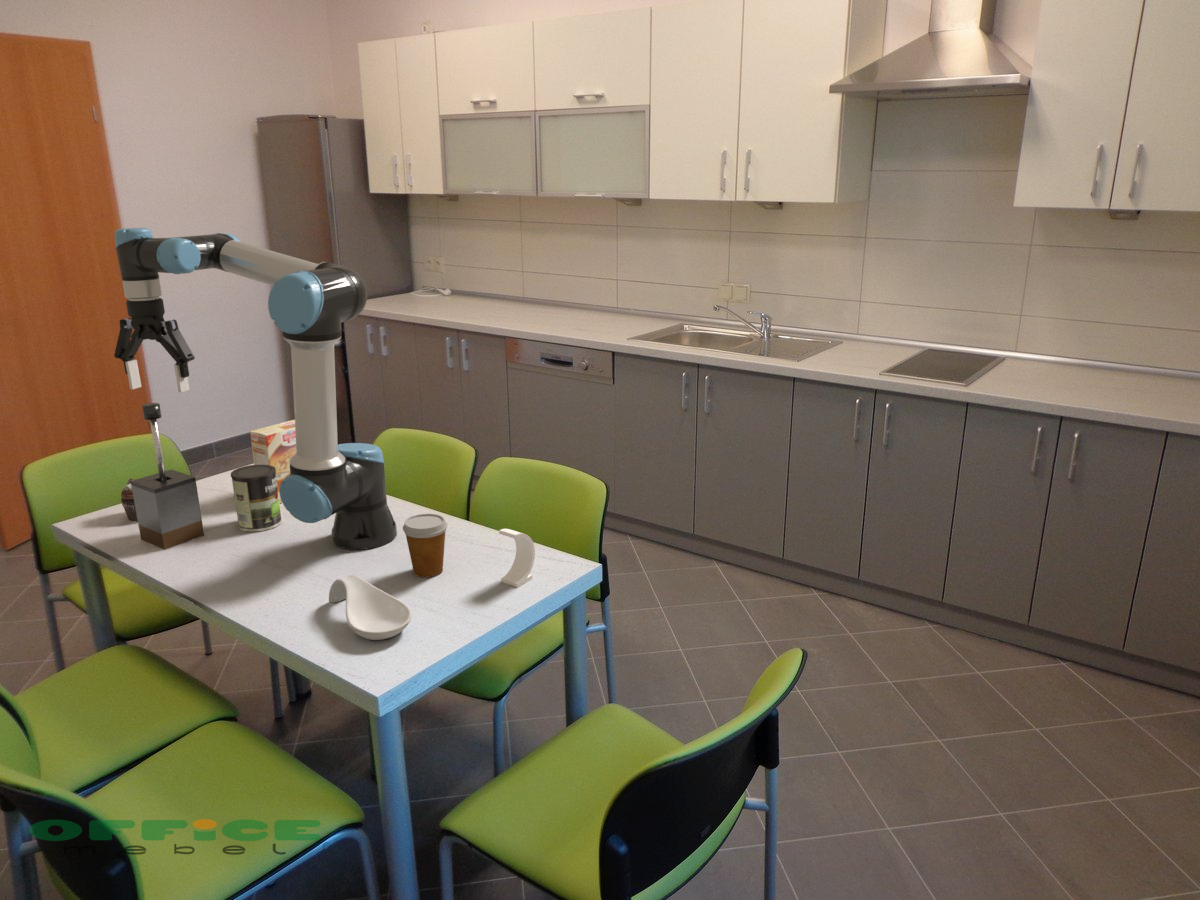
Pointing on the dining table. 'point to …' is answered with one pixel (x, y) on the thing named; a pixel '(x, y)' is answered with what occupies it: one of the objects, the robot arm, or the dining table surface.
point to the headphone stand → (520, 558)
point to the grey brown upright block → (167, 509)
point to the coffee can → (256, 497)
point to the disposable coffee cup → (426, 543)
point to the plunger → (155, 434)
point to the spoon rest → (370, 608)
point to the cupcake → (129, 502)
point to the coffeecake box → (275, 448)
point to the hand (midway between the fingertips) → (159, 389)
